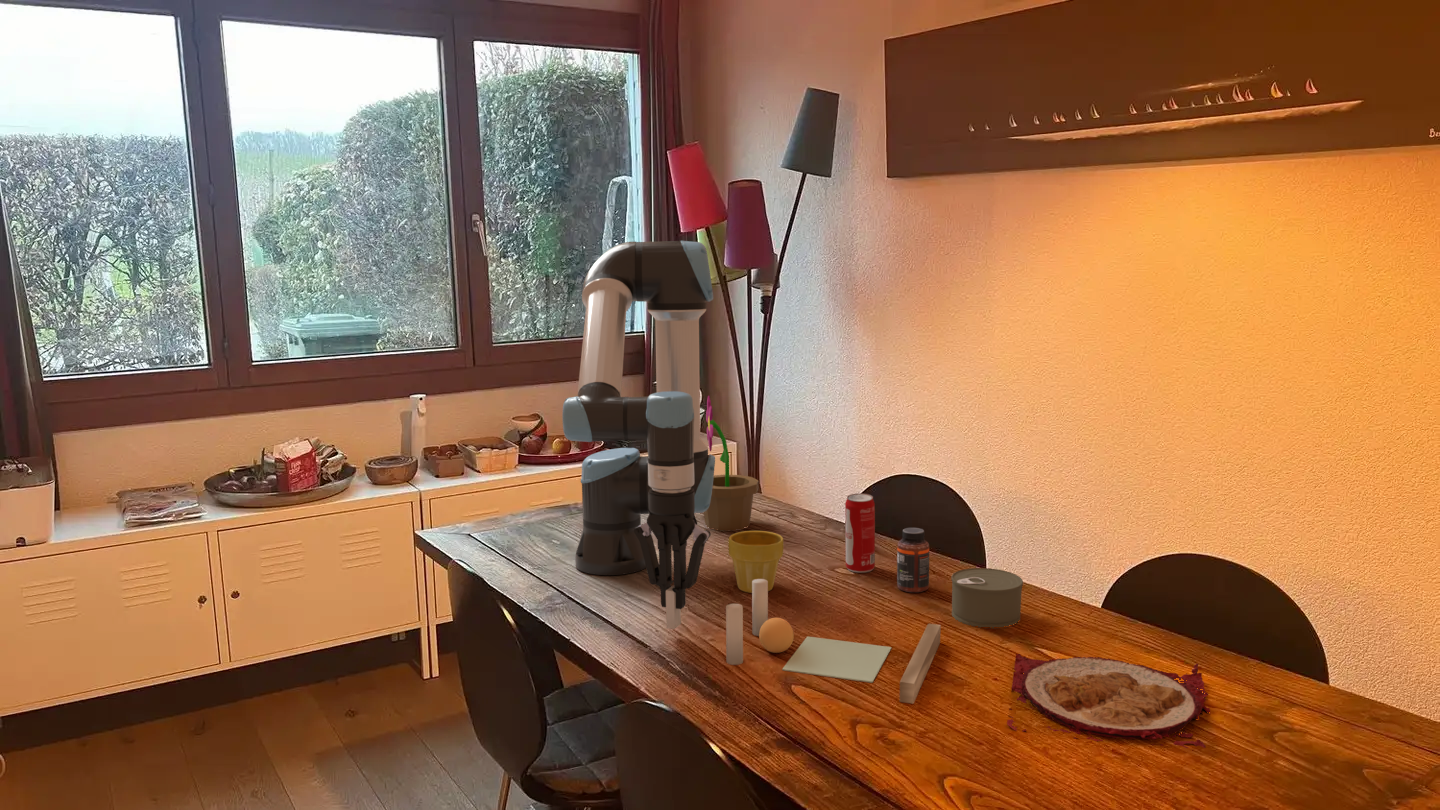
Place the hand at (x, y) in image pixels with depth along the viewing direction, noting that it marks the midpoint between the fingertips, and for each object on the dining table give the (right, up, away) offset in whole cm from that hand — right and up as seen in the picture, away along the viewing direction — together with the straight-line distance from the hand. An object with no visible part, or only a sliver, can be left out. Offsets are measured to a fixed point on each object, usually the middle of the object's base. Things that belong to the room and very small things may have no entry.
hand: (673, 625), depth 175 cm
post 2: (+14, -1, +2) cm, 15 cm away
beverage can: (+35, +4, +35) cm, 50 cm away
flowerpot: (+9, +9, +67) cm, 69 cm away
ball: (+17, 0, -7) cm, 18 cm away
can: (+54, 0, +9) cm, 55 cm away
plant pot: (+15, +2, +25) cm, 29 cm away
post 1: (+10, -3, -10) cm, 15 cm away
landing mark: (+26, -3, -9) cm, 28 cm away
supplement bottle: (+44, +2, +23) cm, 50 cm away
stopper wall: (+38, -4, -14) cm, 41 cm away
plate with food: (+63, -7, -26) cm, 68 cm away
